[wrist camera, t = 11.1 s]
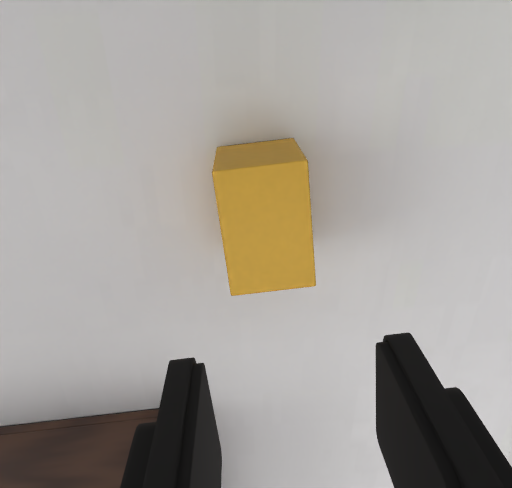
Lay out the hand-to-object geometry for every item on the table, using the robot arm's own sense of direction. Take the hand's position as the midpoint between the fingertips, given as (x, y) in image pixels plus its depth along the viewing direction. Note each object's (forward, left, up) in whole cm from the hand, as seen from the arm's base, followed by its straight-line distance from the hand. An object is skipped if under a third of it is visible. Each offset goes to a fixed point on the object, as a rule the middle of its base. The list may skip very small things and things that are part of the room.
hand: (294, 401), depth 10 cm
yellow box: (0, 0, -15) cm, 15 cm away
